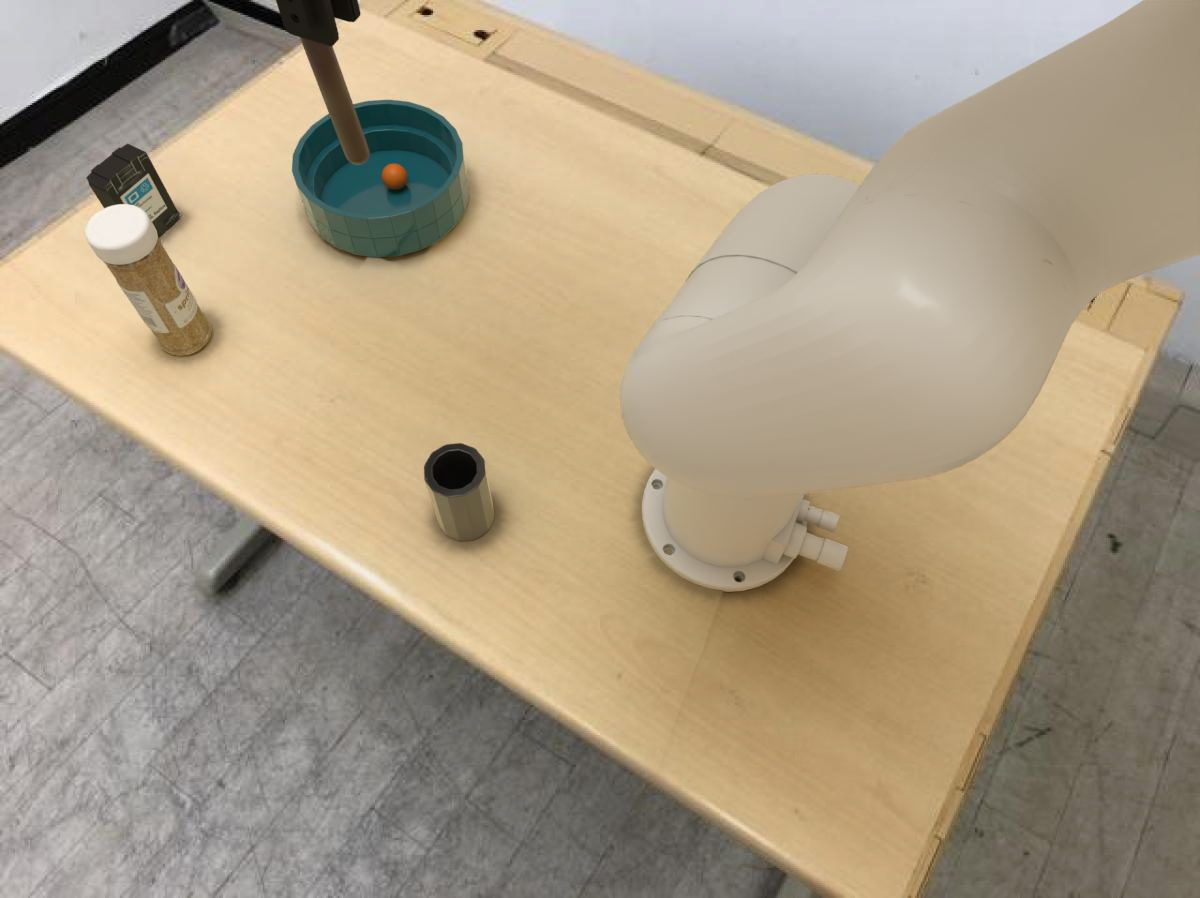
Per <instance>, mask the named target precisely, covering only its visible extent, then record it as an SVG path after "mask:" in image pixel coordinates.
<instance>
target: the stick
mask: <svg viewBox="0 0 1200 898" xmlns="http://www.w3.org/2000/svg"><path fill="white" fill-rule="evenodd" d="M299 40H300V42H301V45H302V47H303V50H304V52H305V55H306V57H307V61H308V63H309V65H310V69H311V70H312V74H313V76H314V78H315V81H316V84H317V86H318V88H319V91H320V94H321V97H322V99H323V102H324V104H325V107H326V110H327V112H328V114H329V115H330V117H331V120H332V123H333V125H334V128H335V131H336V133H337V136H338V138H339V141H340V144H341V146H342V149H343V151H344V154H345V156H346V158H347V160H348V161H349V162H351V163H352V164H355V165H361V164H364V163H365V162H366V161H367V160H368V158H369V154H370V152H369V148H368V145H367V142H366V139H365V137H364V134H363V131H362V128H361V125H360V122H359V120H358V117H357V114H356V111H355V108H354V105H353V104H354V103H353V100H352V97H351V94H350V91H349V89H348V85H347V83H346V80H345V77H344V74H343V72H342V69H341V66H340V63H339V60H338V57H337V55H336V52H335V49H334V47H333V46H334V45H333V46H327V45H324V44H321V43H318V42H314V41H311V40H308V39H304V38H301V37H299Z"/></svg>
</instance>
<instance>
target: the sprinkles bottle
mask: <svg viewBox="0 0 1200 898" xmlns="http://www.w3.org/2000/svg"><path fill="white" fill-rule="evenodd" d="M84 237H85V241H86V242H87V243H88V246H89V247H90V248H91V250H92V251H93V253H94V254H95V256H96V257H97V258H98V259H99V260H100V261H102V262H103V263H104V264H105V265H106V267H107V268H108V270H109V271H110V273H111V274H112V276H113V277H114V279H115V281H116V283H117V285H118V286H119V287H120V289H121V290H122V292H123V293H124V295H125V296H126V298H127V299H128V301H129V302H130V304H131V305H132V307H133V308H134V310H135V311H136V313H137V314H138V316H139V317H140V318H141V320H142V321H143V322H144V324H145V326H147V327H148V329H149V330H150V331H151V332H152V334H153V335H154V336H155V338H156V339H157V343H158V344H159V347H160V348H161V349H162V350H163V351H164V352H166V353H168V354H169V355H172V356H178V357H182V356H189V355H193V354H195V353H196V352H198V351H200V350H201V349H203V348H204V347H206V345H207V344H208V343H209V341H210V339H211V338H212V337H211V336H212V334H213V326H212V323H211V322H210V320H209V319H208V318H207V317H206V316H205V314H204V313H203V311H202V310H201V309H202V308H201V307H200V306H199V304H198V303H197V299H196V298H195V296H194V294H193V292H192V291H191V289H190V287H189V286H188V284H187V283H186V281H185V279H184V278H183V275H182V274H181V273H180V271H179V269H178V268H177V267H178V266H176V264H175V263H174V262H173V261H172V258H171V257H170V256H169V253H168V252H167V250H166V249H165V247H164V245H163V244H162V242H161V240H160V238H158V234H157V230H156V228H155V227H154V225H153V223H152V221H151V220H150V218H149V217H148V215H147V214H146V212H145V211H143V210H142V209H141V208H139V207H137V206H134V205H129V204H118V205H113V206H109V207H106V208H104V207H103V208H102V209H100V210H98V211H97V212H96V213H94V214H93V215H92V216H91V217H90V218H89V220H88V222H87V223H86V225H85V227H84Z"/></svg>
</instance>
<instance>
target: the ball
mask: <svg viewBox="0 0 1200 898" xmlns="http://www.w3.org/2000/svg"><path fill="white" fill-rule="evenodd" d="M407 180H408V176H407V172H406V170H405V169H404V168H403V167H402V166H401V165H399V164H389V165H387V166H386V167H385V168H384V169H383V171H382V181H383V183H384V184H385V186H386V187H388V188H389V189H392V190H399V189H402V188H403V187H404V186H405V185H406V183H407Z"/></svg>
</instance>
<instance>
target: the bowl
mask: <svg viewBox="0 0 1200 898" xmlns="http://www.w3.org/2000/svg"><path fill="white" fill-rule="evenodd" d="M353 105H354V108H355V111H356V114H357V117H358V120H359V122H360V125H361V128H362V131H363V134H364V137H365V139H366V142H367V145H368V148H369V152H370V154H369V158H368V160H367V161H366V162H365V163H364V164H361V165H355V164H352V163H351V162H349V161H348V160H347V158H346V156H345V154H344V151H343V149H342V146H341V144H340V141H339V138H338V136H337V133H336V131H335V128H334V125H333V123H332V120H331V117H330V115H329V113H327V114H326V115H324V116H323V117H321V118H320V119H318V120H317V121H316V122H315V123H313V124H312V125H311V126H310V127H309V128H308V129H307V130H306V132H305V133H303V135H302V136H301V137H300V138H299V140H298V142H297V143H296V147H295V149H294V151H293V153H292V159H291V160H292V162H291V173H292V176H293V179H294V182H295V185H296V187H297V190H298V193H299V196H300V198H301V201H302V204H303V207H304V209H305V212H306V215H307V218H308V220H309V223H310V225H311V227H312V228H313V229H314V231H315V232H316V233H317V234H318V236H319V237H320V238H321V239H322V240H324V241H325V242H327V243H328V244H330V245H331V246H333V247H334V248H335V249H337V250H340V251H344V252H347V253H349V254H353V255H356V256H359V257H360V256H361V257H370V258H389V257H400V256H404V255H407V254H412V253H415V252H418V251H421V250H423V249H426V248H427V247H430V246H432V245H433V244H435V243H438V242H439V241H440V240H442V239H443V238H444V237H446V236H447V235H448V234H449V233H451V231H453V230H454V229H455V228H456V226H457V225H458V223H459V222H460V221H461V219H462V218H463V216H464V214H465V213H466V211H467V210H466V209H467V206H468V203H469V199H470V193H469V192H470V190H469V179H468V173H467V166H466V159H465V152H464V145H463V141H462V139H461V137H460V134H459V133H458V130H457V129H456V128H455V126H454V125H452V123H450V121H449V120H448V119H447V118H446V117H445V116H444V115H442V114H440V113H438V112H437V111H435V110H433V109H432V108H430V107H427V106H424V105H422V104H417V103H415V102H412V101H406V100H396V99H375V100H374V99H373V100H365V101H361V102H357V103H353ZM389 164H399V165H401V166H402V167H403V168H404V169H405V170H406V172H407V176H408V180H407V183H406V185H405V186H404V187H403V188H402V189H399V190H392V189H389V188H388V187H386V186H385V184H384V183H383V181H382V171H383V169H384V168H385V167H386V166H387V165H389Z"/></svg>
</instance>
